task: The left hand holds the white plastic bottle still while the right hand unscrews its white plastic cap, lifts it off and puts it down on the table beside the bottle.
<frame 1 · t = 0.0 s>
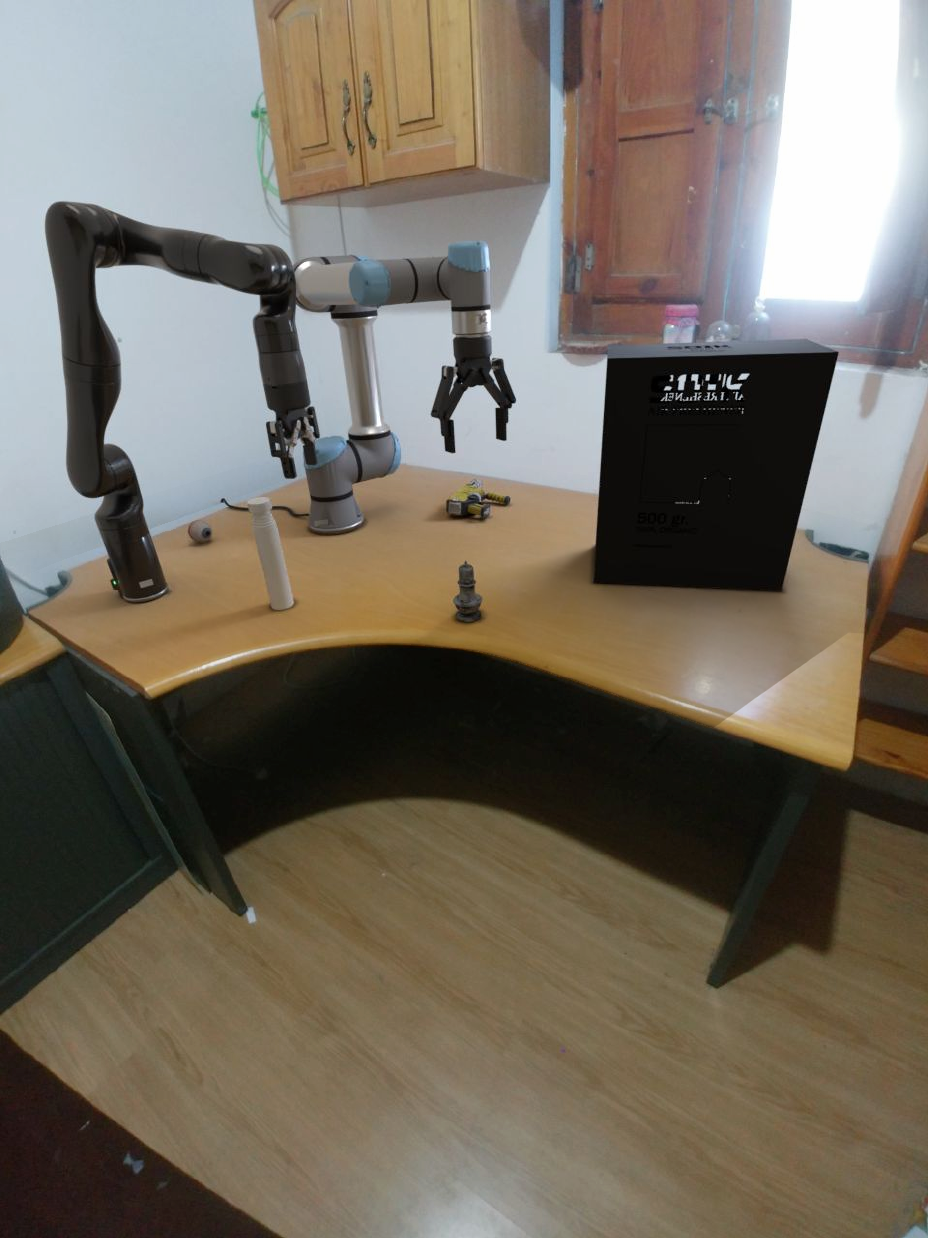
left hand: (301, 471, 113), 29 cm above the table, tool pointing down, fingers open, 8 cm apart
right hand: (476, 445, 127), 28 cm above the table, tool pointing down, fingers open, 13 cm apart
cap: (259, 502, 118), point 23 cm above the table, screwed on, not yet turned
bottle: (282, 604, 130), on the table
toy gun: (483, 506, 177), on the table
eyeball: (203, 542, 163), on the table
cardboard box: (679, 567, 135), on the table
salt shaker: (468, 615, 121), on the table
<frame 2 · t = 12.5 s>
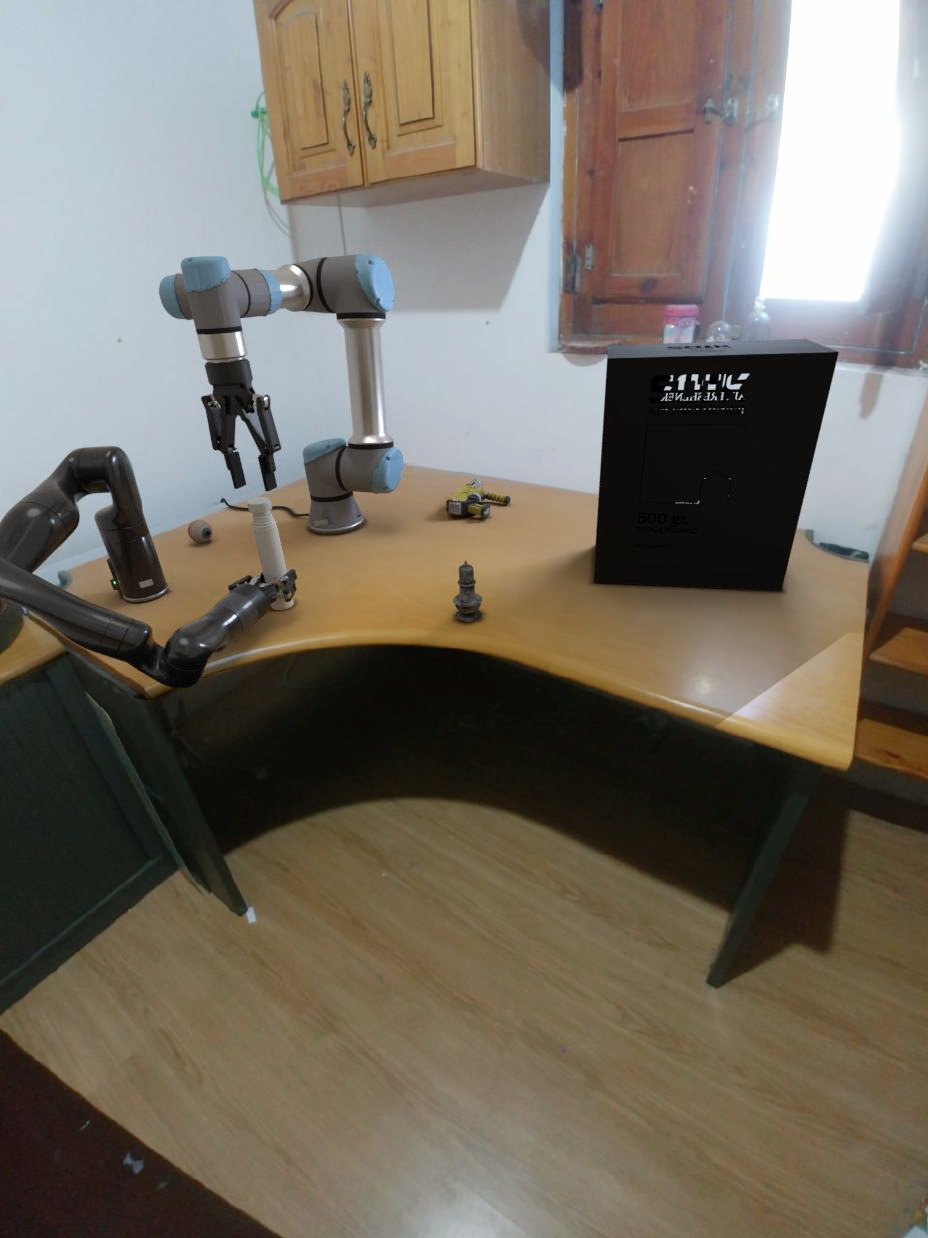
left hand: (282, 572, 129), 6 cm above the table, tool horizontal, fingers closed on bottle, 4 cm apart
right hand: (255, 487, 117), 26 cm above the table, tool pointing down, fingers open, 7 cm apart
bottle: (282, 604, 130), on the table, touching left hand
everything else where it was.
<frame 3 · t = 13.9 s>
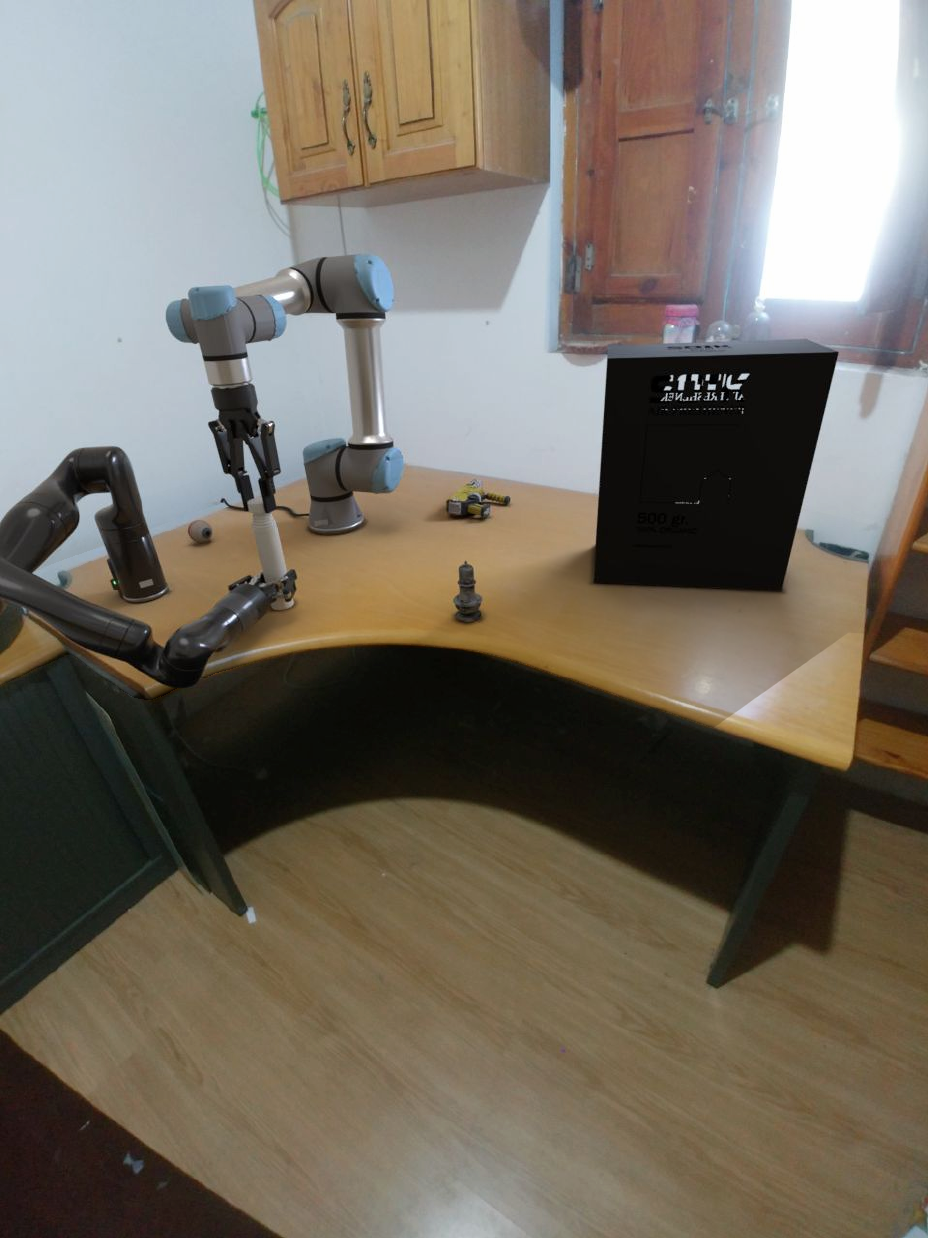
left hand: (282, 572, 129), 6 cm above the table, tool horizontal, fingers closed on bottle, 4 cm apart
right hand: (260, 509, 119), 21 cm above the table, tool pointing down, fingers closed on cap, 4 cm apart
cap: (259, 502, 118), point 23 cm above the table, screwed on, not yet turned, touching right hand
bottle: (282, 604, 130), on the table, touching left hand
everything else where it was.
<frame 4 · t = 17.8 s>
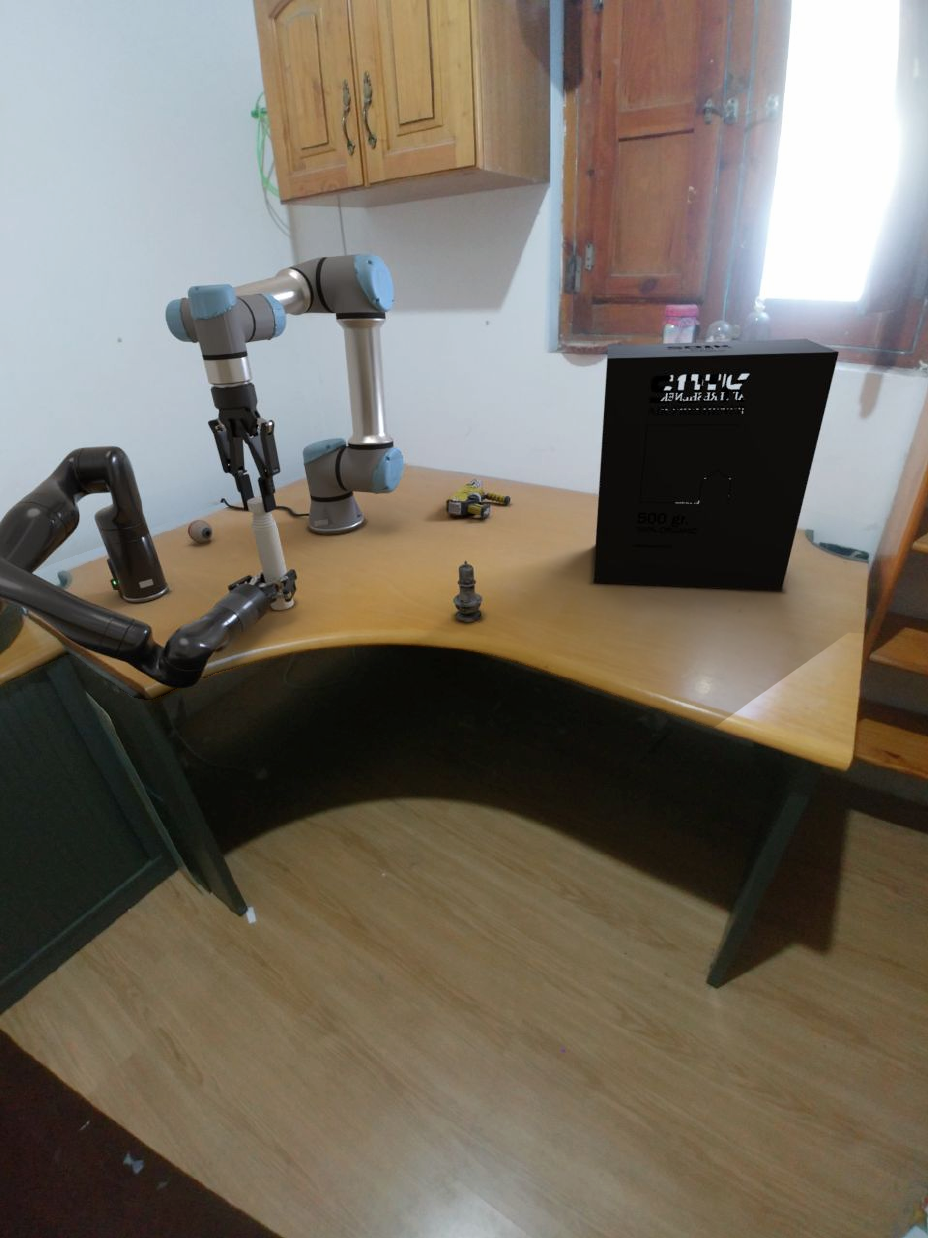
left hand: (282, 572, 129), 6 cm above the table, tool horizontal, fingers closed on bottle, 4 cm apart
right hand: (260, 508, 119), 22 cm above the table, tool pointing down, fingers closed on cap, 4 cm apart
cap: (258, 501, 118), point 23 cm above the table, turned 141° so far, risen 0.2 cm, still on its thread, touching right hand
bottle: (282, 604, 130), on the table, touching left hand
everything else where it was.
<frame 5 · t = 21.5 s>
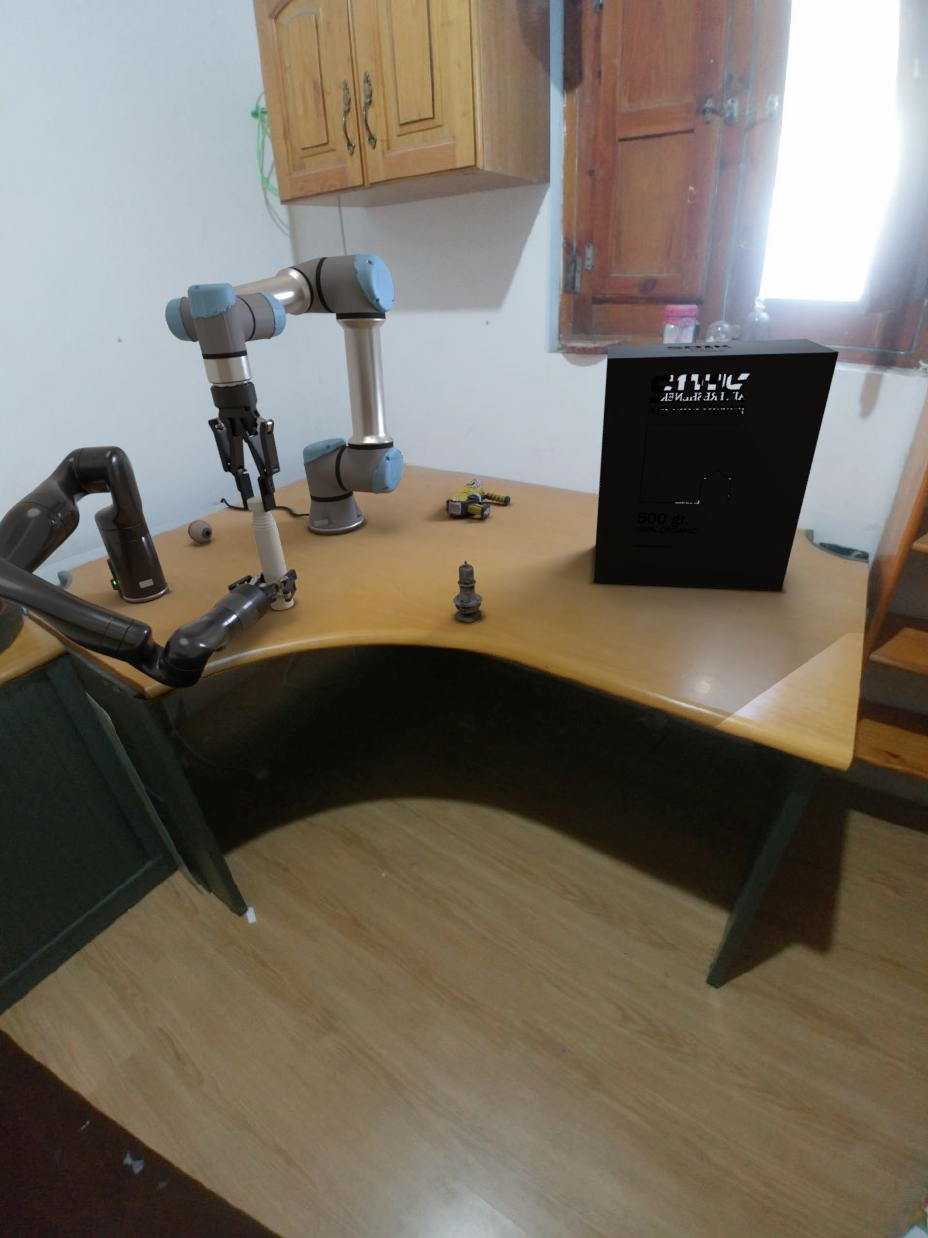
left hand: (282, 572, 129), 6 cm above the table, tool horizontal, fingers closed on bottle, 4 cm apart
right hand: (260, 508, 119), 22 cm above the table, tool pointing down, fingers closed on cap, 4 cm apart
cap: (258, 500, 118), point 23 cm above the table, turned 283° so far, risen 0.3 cm, still on its thread, touching right hand
bottle: (282, 604, 130), on the table, touching left hand
everything else where it was.
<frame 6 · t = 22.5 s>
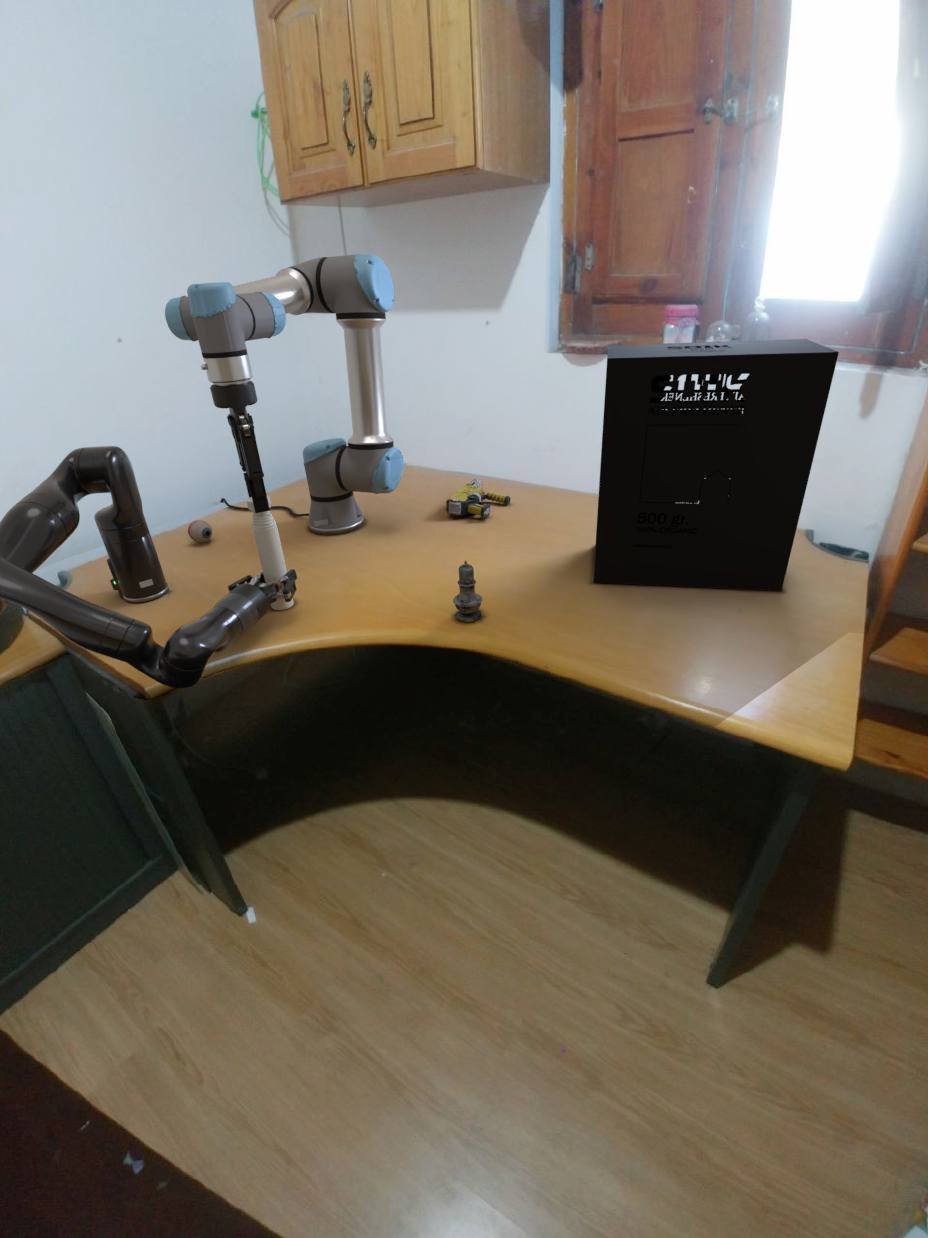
left hand: (282, 572, 129), 6 cm above the table, tool horizontal, fingers closed on bottle, 4 cm apart
right hand: (260, 507, 119), 22 cm above the table, tool pointing down, fingers closed on cap, 4 cm apart
cap: (258, 499, 118), point 23 cm above the table, off its thread, touching right hand
bottle: (282, 604, 130), on the table, touching left hand
everything else where it was.
when the right hand's fingers open (1 cm above the table, at t = 28.9 s): cap drops 1 cm, point 2 cm above the table.
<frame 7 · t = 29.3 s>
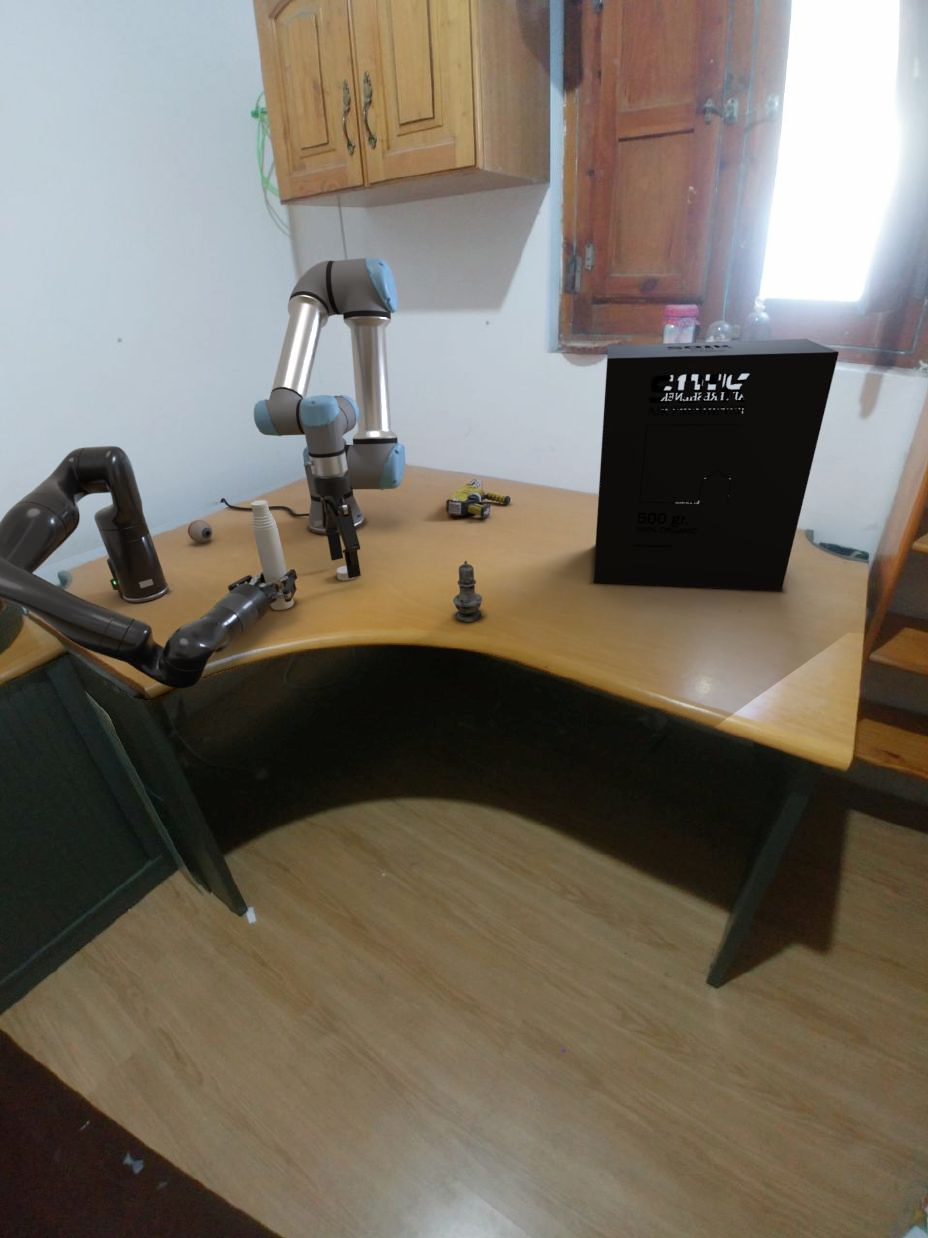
left hand: (282, 572, 128), 6 cm above the table, tool horizontal, fingers closed on bottle, 4 cm apart
right hand: (345, 567, 139), 2 cm above the table, tool pointing down, fingers open, 11 cm apart
cap: (346, 570, 139), point 2 cm above the table, off its thread
bottle: (282, 604, 130), on the table, touching left hand
everything else where it was.
when the left hand's fingers open (6 cm above the table, at t = 30.1 s): bottle stays where it is, on the table.
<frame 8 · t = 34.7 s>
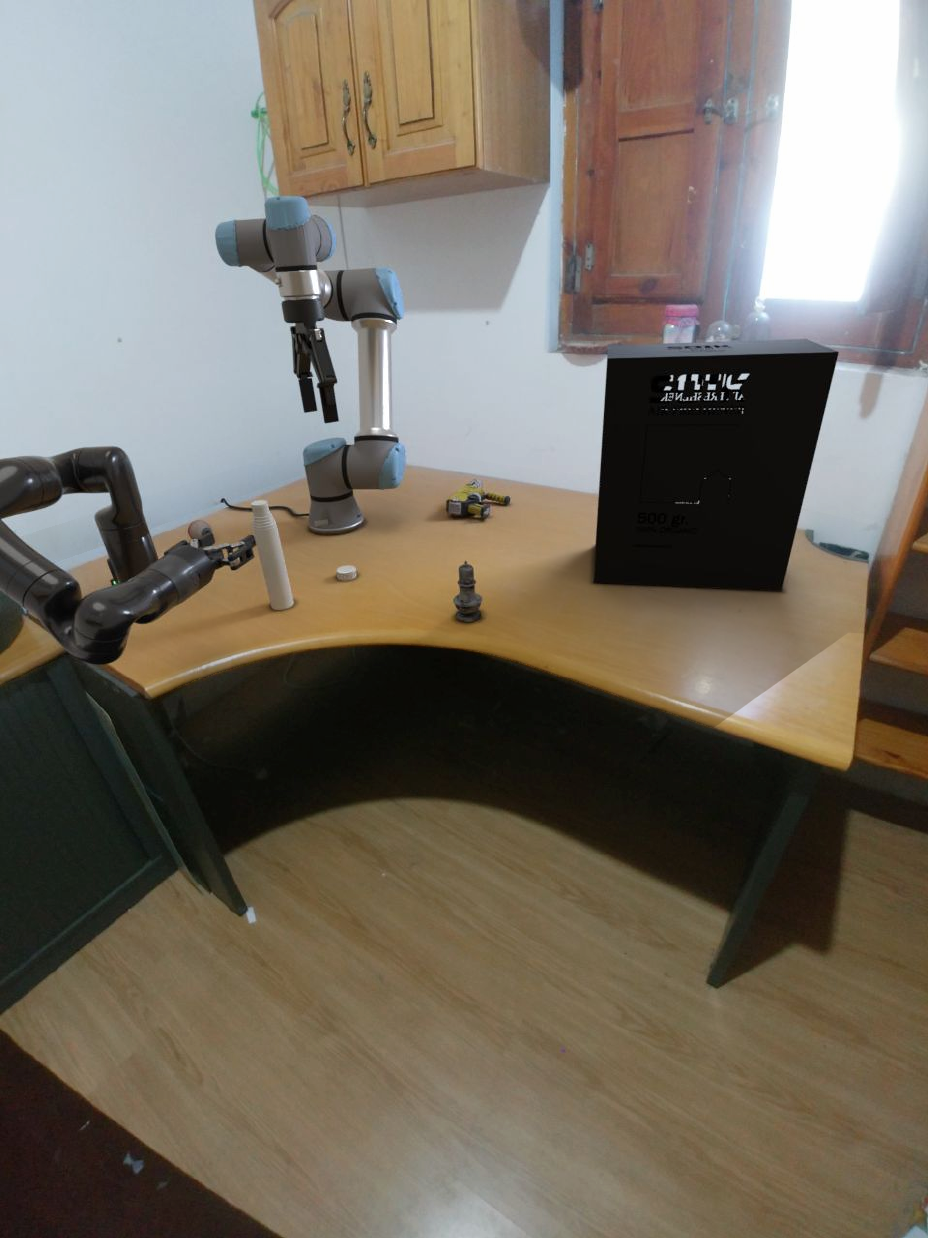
left hand: (232, 538, 111), 20 cm above the table, tool horizontal, fingers open, 8 cm apart
right hand: (320, 416, 122), 36 cm above the table, tool pointing down, fingers open, 13 cm apart
bottle: (282, 604, 130), on the table
everything else where it was.
at the end: cap came off its thread; cap point 1.5 cm above the table; the left hand is holding nothing; the right hand is holding nothing; bottle tilted 0°; bottle moved 0.0 cm from its start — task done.
